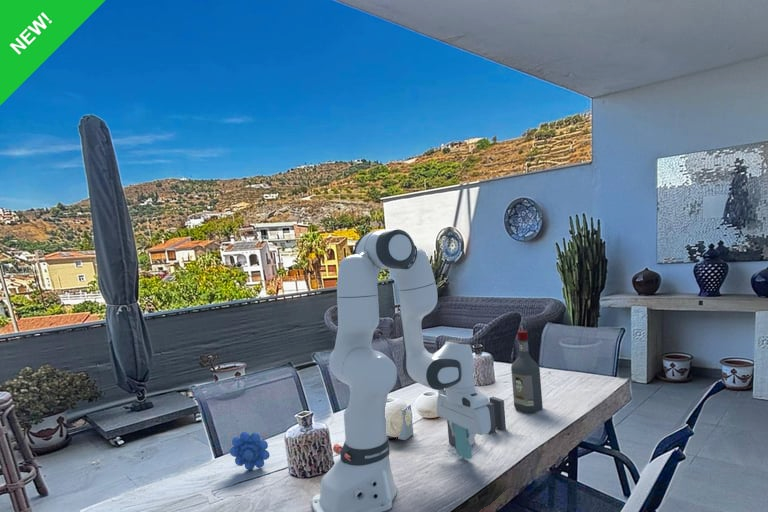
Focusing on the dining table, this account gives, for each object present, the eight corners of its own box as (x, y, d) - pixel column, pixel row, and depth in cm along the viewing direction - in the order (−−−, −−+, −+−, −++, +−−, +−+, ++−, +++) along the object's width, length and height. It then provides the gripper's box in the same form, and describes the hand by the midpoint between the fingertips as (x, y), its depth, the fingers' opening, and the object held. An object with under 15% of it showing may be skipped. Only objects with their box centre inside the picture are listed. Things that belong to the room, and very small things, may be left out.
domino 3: (492, 434, 139) (489, 404, 139) (481, 429, 143) (479, 401, 143) (495, 432, 140) (493, 403, 140) (485, 428, 144) (482, 399, 144)
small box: (413, 434, 143) (411, 404, 143) (405, 441, 139) (403, 410, 139) (394, 430, 148) (392, 401, 148) (386, 436, 143) (383, 406, 143)
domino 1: (459, 448, 131) (456, 416, 131) (448, 442, 135) (446, 412, 135) (463, 446, 132) (461, 415, 132) (453, 441, 136) (450, 411, 136)
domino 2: (467, 459, 120) (465, 425, 121) (456, 453, 125) (454, 420, 125) (472, 457, 121) (470, 423, 122) (460, 451, 126) (458, 418, 126)
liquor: (525, 402, 165) (519, 328, 165) (545, 408, 157) (539, 330, 158) (511, 409, 159) (505, 332, 160) (531, 415, 152) (525, 334, 152)
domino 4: (502, 430, 141) (500, 401, 141) (491, 425, 145) (489, 397, 146) (505, 428, 142) (503, 400, 142) (495, 424, 146) (492, 396, 147)
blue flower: (228, 480, 121) (225, 439, 121) (232, 469, 128) (230, 430, 128) (268, 473, 123) (266, 434, 123) (271, 463, 130) (268, 425, 130)
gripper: (430, 387, 131) (433, 431, 130) (476, 404, 113) (479, 454, 113) (446, 383, 134) (448, 426, 134) (492, 399, 117) (495, 448, 116)
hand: (463, 439), depth 123 cm, fingers closed on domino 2, 5 cm apart
